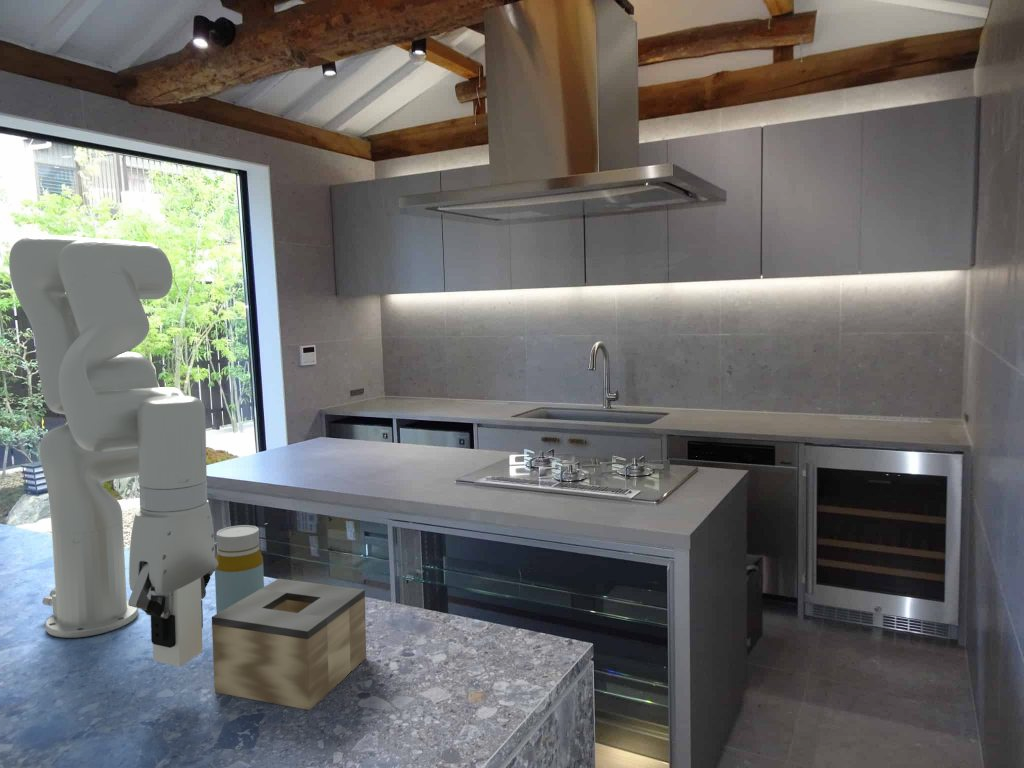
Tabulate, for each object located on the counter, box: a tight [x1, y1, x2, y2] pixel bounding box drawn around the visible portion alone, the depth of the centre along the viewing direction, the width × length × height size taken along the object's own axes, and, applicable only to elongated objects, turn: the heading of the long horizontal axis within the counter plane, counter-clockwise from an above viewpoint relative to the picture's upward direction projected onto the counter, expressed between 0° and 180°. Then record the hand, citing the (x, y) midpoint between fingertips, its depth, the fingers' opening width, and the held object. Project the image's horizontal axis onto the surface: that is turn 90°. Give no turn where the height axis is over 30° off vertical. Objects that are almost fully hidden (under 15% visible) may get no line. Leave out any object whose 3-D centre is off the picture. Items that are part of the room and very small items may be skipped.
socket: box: [211, 578, 367, 711], centre depth 96 cm, size 14×14×10 cm
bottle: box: [214, 524, 265, 614], centre depth 112 cm, size 7×7×15 cm
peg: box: [152, 578, 203, 668], centre depth 91 cm, size 4×4×10 cm
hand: (177, 635), depth 91 cm, fingers closed on peg, 4 cm apart
